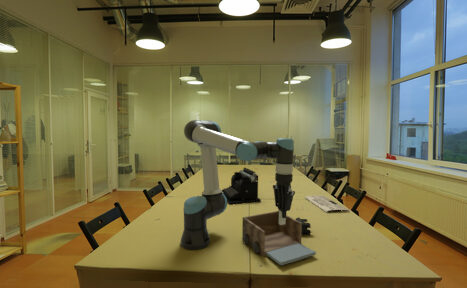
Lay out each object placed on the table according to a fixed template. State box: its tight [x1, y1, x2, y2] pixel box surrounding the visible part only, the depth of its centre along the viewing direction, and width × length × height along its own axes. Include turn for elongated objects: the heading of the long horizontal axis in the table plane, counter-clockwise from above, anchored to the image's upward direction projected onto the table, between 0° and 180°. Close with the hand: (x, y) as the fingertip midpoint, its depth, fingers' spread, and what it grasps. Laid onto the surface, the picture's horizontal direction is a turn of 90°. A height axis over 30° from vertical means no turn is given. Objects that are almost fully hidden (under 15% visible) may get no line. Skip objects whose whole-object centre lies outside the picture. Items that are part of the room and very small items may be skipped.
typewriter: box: [221, 167, 262, 206], centre depth 200 cm, size 31×27×25 cm
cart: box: [241, 210, 302, 257], centre depth 120 cm, size 20×26×12 cm
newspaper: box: [304, 195, 350, 214], centre depth 183 cm, size 37×19×3 cm, turn 6°
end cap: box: [294, 217, 312, 236], centre depth 133 cm, size 10×7×7 cm
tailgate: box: [266, 243, 317, 266], centre depth 106 cm, size 2×20×11 cm
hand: (281, 223), depth 104 cm, fingers closed
